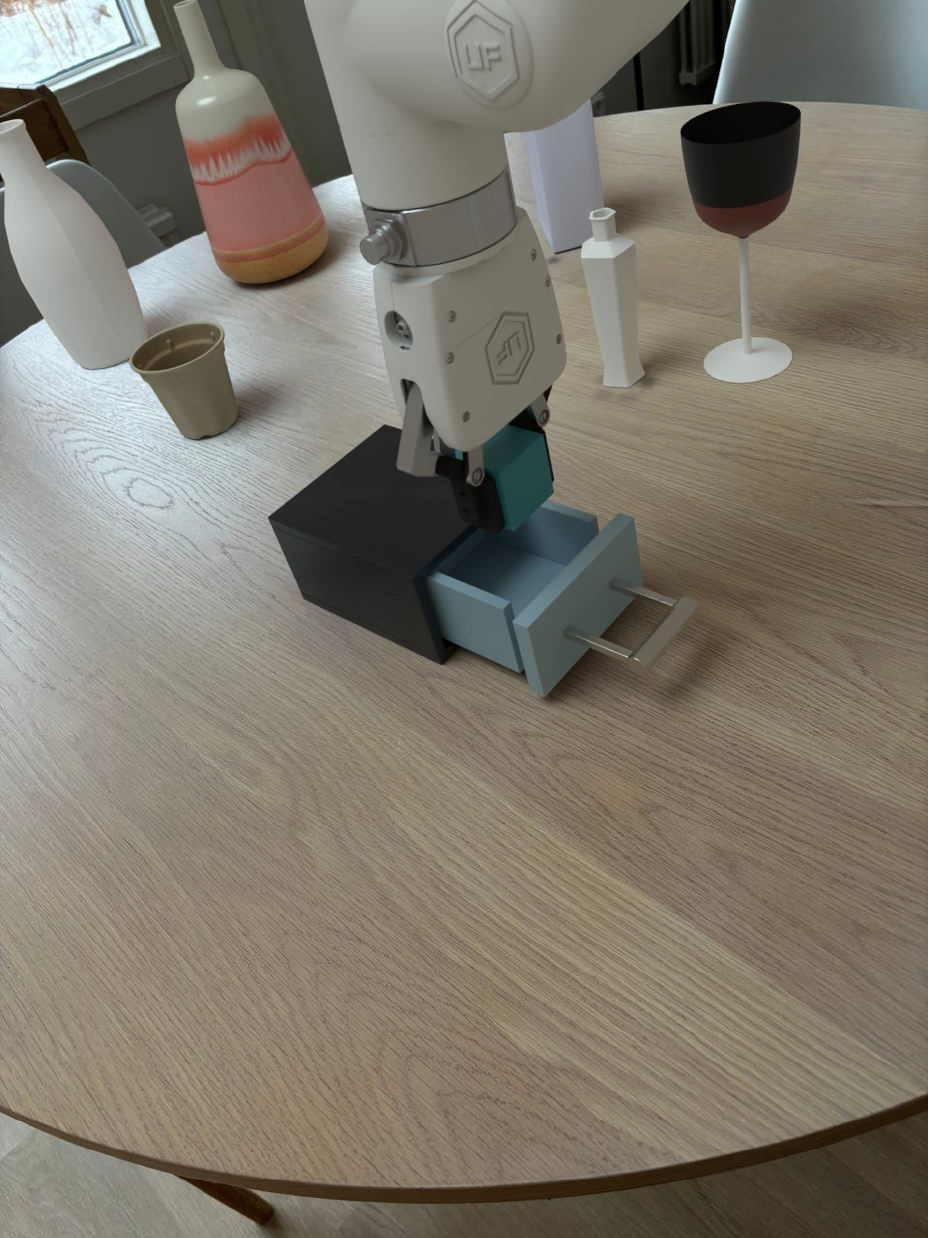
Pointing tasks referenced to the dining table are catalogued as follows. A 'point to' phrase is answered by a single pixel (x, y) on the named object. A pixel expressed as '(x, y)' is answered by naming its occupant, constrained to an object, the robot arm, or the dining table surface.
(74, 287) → the bottle
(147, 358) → the flower pot
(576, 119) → the soap bottle
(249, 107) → the vase
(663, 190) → the dining table surface
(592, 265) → the perfume bottle
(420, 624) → the small black cabinet
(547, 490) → the teal block
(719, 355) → the wineglass
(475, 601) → the drawer
